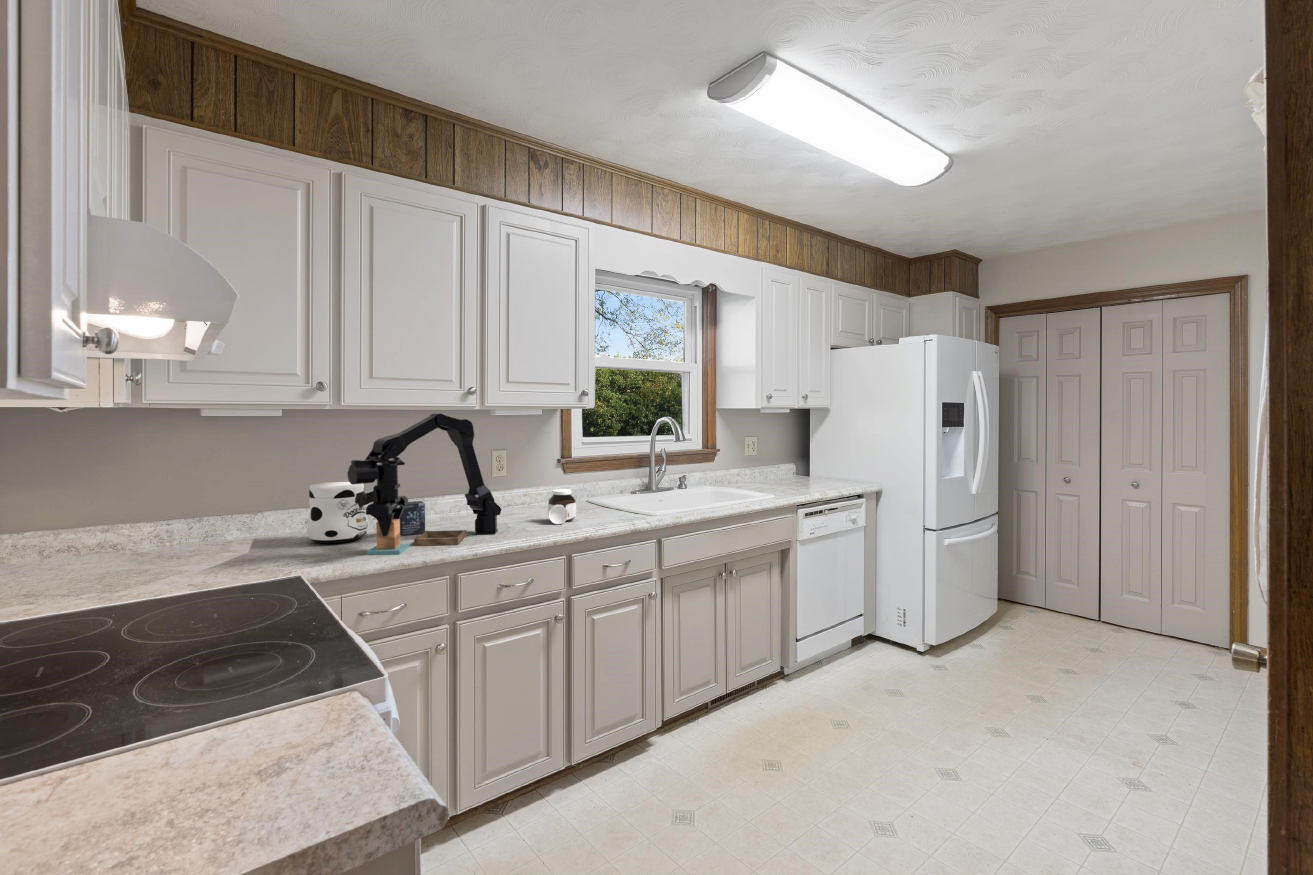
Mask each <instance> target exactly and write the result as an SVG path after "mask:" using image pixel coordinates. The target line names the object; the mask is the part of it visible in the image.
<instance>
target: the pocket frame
mask: <svg viewBox="0 0 1313 875" xmlns="http://www.w3.org/2000/svg"><path fill="white" fill-rule="evenodd" d="M466 536H467V537H468V531H467V530H466V529H463V530H461V529H459V530H425V532H424V533H423V534H419V535H418V536H417V537H415V538H414V542H413V543H414V547H418V546H419V547H420V546H423V545H426V546H458V545H460V544H461V543H462V542H463V541H464V540H465V539H466V538H467V537H466ZM431 537H432V538H431ZM433 537H437V538H433ZM465 537H466V538H465ZM464 538H465V539H464ZM463 539H464V540H463ZM423 547H424V546H423Z"/></svg>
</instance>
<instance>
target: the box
mask: <svg viewBox="0 0 1313 875" xmlns="http://www.w3.org/2000/svg"><path fill="white" fill-rule="evenodd" d="M400 507H405V509H404V510H403V512H402V514H401V517H400V537H403V536H411V535H412V536H413V535H421V534H423V533H424V532H425V531H426V503H425V502H424V501H422V500H417V501H416V500H415V501H408V505H406V506H403V505H400Z"/></svg>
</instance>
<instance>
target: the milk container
mask: <svg viewBox="0 0 1313 875" xmlns="http://www.w3.org/2000/svg"><path fill="white" fill-rule="evenodd" d="M364 484H365V483H364ZM364 484H353V485H352V484H351V483H350V482H349V481H330V482H321V483H313V484H310V485H309V490H308V491H309V492H308V496H309V500H308V502H309V503H308V504H309V515H308V519H307V522H306V532H307V537H308V538H309V540H310V541H312V542H315V543H321V544H337V543H345V542H351V541H355V540H358V539H360V538H363V537H364V536H366V534H367V533H368V528H369V521H368V520H369V519H368V517H367V516H368V515H366V507H365V505H364V506H362V507H359V505H358V503H355V497H356V494H357V493H360V492H362V491H364V492H365V485H364Z"/></svg>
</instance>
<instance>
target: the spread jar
mask: <svg viewBox="0 0 1313 875" xmlns="http://www.w3.org/2000/svg"><path fill="white" fill-rule="evenodd" d="M576 515H577V501H576V498H574V496H573V495H572V489H568V488H567V489H566V488H559V489H553V490H552V496H550V498H549V499H548V501H547V516H548V518H549V520H550V522H551V523H553V524H554V525H562V524H564V522H566V523H571V522H573V520H575V518H576ZM570 521H571V522H570Z"/></svg>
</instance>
